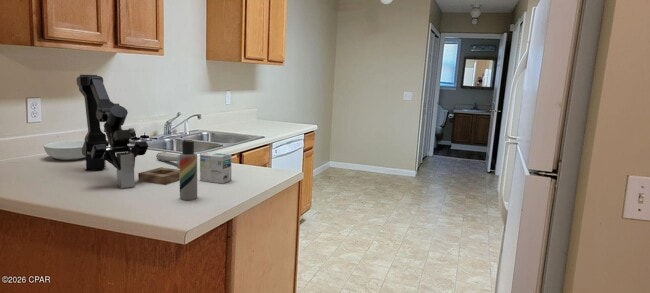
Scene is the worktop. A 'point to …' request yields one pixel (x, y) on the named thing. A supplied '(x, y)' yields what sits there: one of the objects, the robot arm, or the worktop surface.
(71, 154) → the serving bowl
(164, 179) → the wooden square hole board
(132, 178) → the steel peg
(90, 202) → the worktop surface
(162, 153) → the grey metal cylinder
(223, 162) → the light bulb box
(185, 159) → the lotion bottle
